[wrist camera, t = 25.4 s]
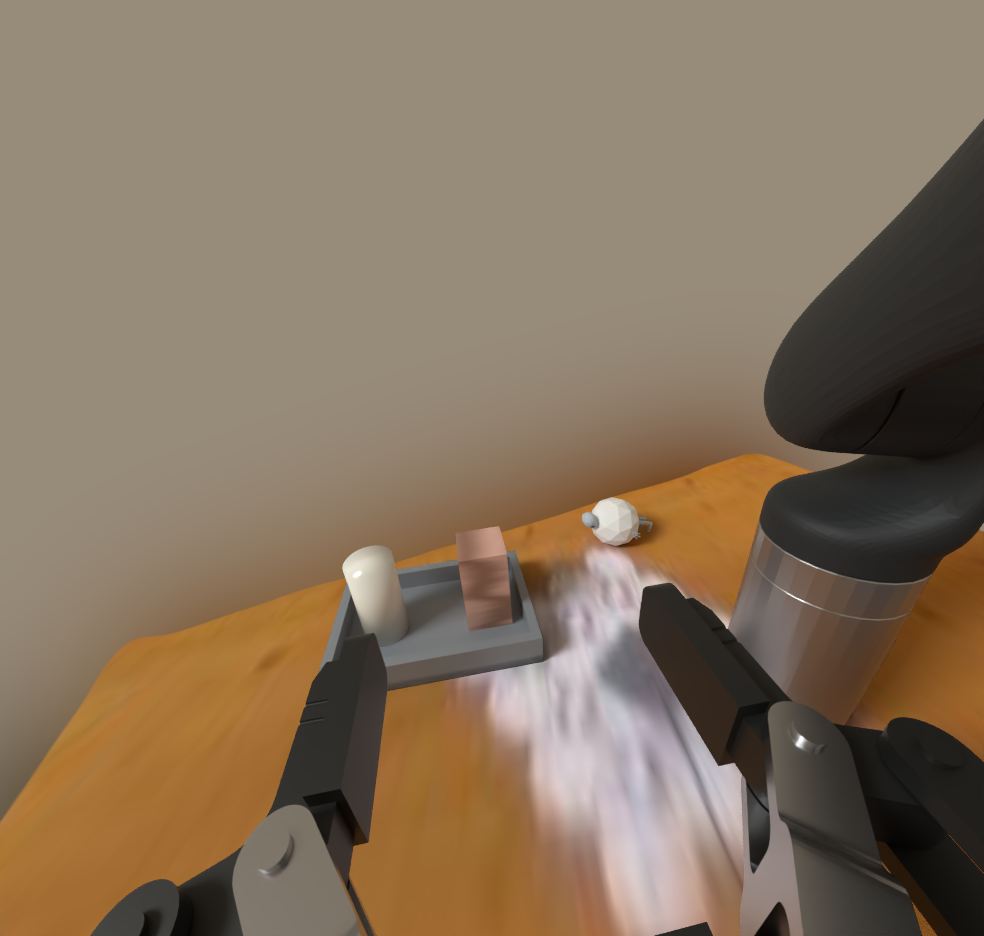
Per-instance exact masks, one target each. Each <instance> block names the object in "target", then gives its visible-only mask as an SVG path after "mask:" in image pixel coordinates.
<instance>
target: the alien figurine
mask: <svg viewBox="0 0 984 936" xmlns="http://www.w3.org/2000/svg"><path fill="white" fill-rule="evenodd" d="M639 520H642V521H639ZM582 521H583V523H584V525H585V526H587V527H591V528H592V530H593V533H594V535H595V536H597V537H598V538H599V539H600V540H601V541H602V542H604V543H607V544H611V545H614V546H618V545H621V544H625V543H629V542H630V541H631V540H632V539H633V537H635V535H636V534H640V533H638V527H639V524H641V525H640V527H643V525H648V529H647V531H648V533H649V532H650V530H651V527H652V524H653V523H652V522H650V521H646V517H641V516H638V515H637V511H636V508H635V507H633V506H632V505H631V504H629V503H628V502H627V501H625V500H621V499H617V498H613V497H612V498H609V499H605V500H602V501H600V502H599V503H598V504H597V505H596V507H595V508H594V509H593V511H592V513H590V512H586V513H584V514H583V516H582ZM636 536H638V535H636ZM638 537H641V536H638ZM635 538H636V539H638V538H637V537H635Z"/></svg>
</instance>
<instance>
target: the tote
mask: <svg viewBox="0 0 984 936" xmlns="http://www.w3.org/2000/svg"><path fill="white" fill-rule="evenodd" d="M506 553H507V561H508V573H509V585H510V598H511V610H512V622H513V624H510V625H504V626H498V627H493V628H487V629H482V630H476V631H470V632H469V628H468V622H467V616H466V610H465V603H464V597H463V591H462V584H461V578H460V572H459V565H458V560H453V561H447V562H441V563H434V564H428V565H422V566H416V567H409V568H403V569H397V570H396V571H397V575H398V579H399V582H400V586H401V590H402V594H403V598H404V602H405V606H406V610H407V614H408V618H409V622H410V625H409V629H408V631H407V633H406V634H405V636H404V637H403V638H402V639H401V640H399V641H398V642H396V643H395V644H392V645H390V646H386V647H380V651H381V654H382V657H383V660H384V663H385V666H386V671H387V691H389V690H394V689H399V688H405V687H410V686H415V685H421V684H426V683H431V682H437V681H442V680H447V679H452V678H458V677H463V676H468V675H474V674H479V673H484V672H490V671H495V670H500V669H506V668H511V667H516V666H522V665H527V664H532V663H538V662H543V638H542V634H541V631H540V628H539V625H538V622H537V619H536V615H535V612H534V609H533V606H532V603H531V599H530V596H529V593H528V590H527V587H526V584H525V580H524V577H523V574H522V571H521V568H520V564H519V561H518V558H517V555H516V552H515V551H510V552H506ZM358 635H364V631H363V628H362V625H361V622H360V619H359V616H358V613H357V610H356V607H355V604H354V601H353V598H352V595H351V592H350V589H349V586H348V583H346V586H345V589H344V593H343V596H342V599H341V602H340V605H339V609H338V612H337V615H336V618H335V622H334V625H333V628H332V631H331V634H330V638H329V641H328V644H327V647H326V650H325V654H324V657H323V660H322V663H321V666H320V670H321V669H322V668H323V666H324V665H325V663H326V662H330V661H335V660H339V657H340V653H341V649H342V646H343V642H344V640H345V639H346V638H347V637H353V636H358ZM320 670H319V672H320Z"/></svg>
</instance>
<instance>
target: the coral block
mask: <svg viewBox="0 0 984 936" xmlns="http://www.w3.org/2000/svg"><path fill="white" fill-rule="evenodd" d="M456 545H457V556H458V565H459V572H460V578H461V584H462V591H463V597H464V603H465V610H466V616H467V622H468V628H469V632H470V631H476V630H482V629H487V628H493V627H498V626H504V625H510V624H513V622H512V610H511V598H510V585H509V573H508V561H507V553H506V549H505V546H504V542H503V538H502V535H501V531H500V528H499V527H492V528H485V529H478V530H472V531H465V532H459V533H456Z"/></svg>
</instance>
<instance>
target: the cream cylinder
mask: <svg viewBox="0 0 984 936" xmlns="http://www.w3.org/2000/svg"><path fill="white" fill-rule="evenodd" d="M343 572H344V575H345V578H346V581H347V583H348V586H349V589H350V592H351V595H352V598H353V601H354V604H355V607H356V610H357V613H358V616H359V619H360V622H361V625H362V628H363V631H364V634H370V633H374V634H375V635H376V638H377V641H378V644H379V647H386V646H390V645H392V644H395V643H396V642H398V641H399V640H401V639H402V638H403V637H404V636H405V634H406V633H407V631H408V629H409V625H410V622H409V618H408V614H407V610H406V606H405V602H404V598H403V594H402V590H401V586H400V582H399V579H398V575H397V571H396V567H395V563H394V559H393V555H392V552H391V550H390V549H388V548H387V547H384V546H369V547H365V548H362V549H360V550H358V551H356V552H354V553H353V554H351V555H350V556H349V557H348V558H347V559H346V561H345V562H344V564H343Z"/></svg>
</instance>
